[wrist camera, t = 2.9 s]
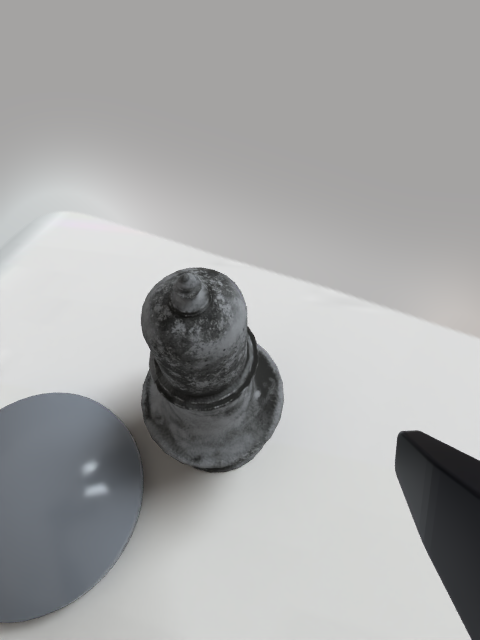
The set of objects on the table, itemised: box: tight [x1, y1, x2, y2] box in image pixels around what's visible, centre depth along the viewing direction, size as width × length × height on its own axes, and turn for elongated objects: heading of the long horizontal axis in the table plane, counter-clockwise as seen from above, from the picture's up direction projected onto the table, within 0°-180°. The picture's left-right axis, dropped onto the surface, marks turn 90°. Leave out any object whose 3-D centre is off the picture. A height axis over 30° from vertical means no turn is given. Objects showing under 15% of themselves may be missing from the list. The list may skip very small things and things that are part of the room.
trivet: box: [0, 393, 144, 623], centre depth 17 cm, size 9×9×1 cm
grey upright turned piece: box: [141, 268, 284, 472], centre depth 14 cm, size 6×6×12 cm
